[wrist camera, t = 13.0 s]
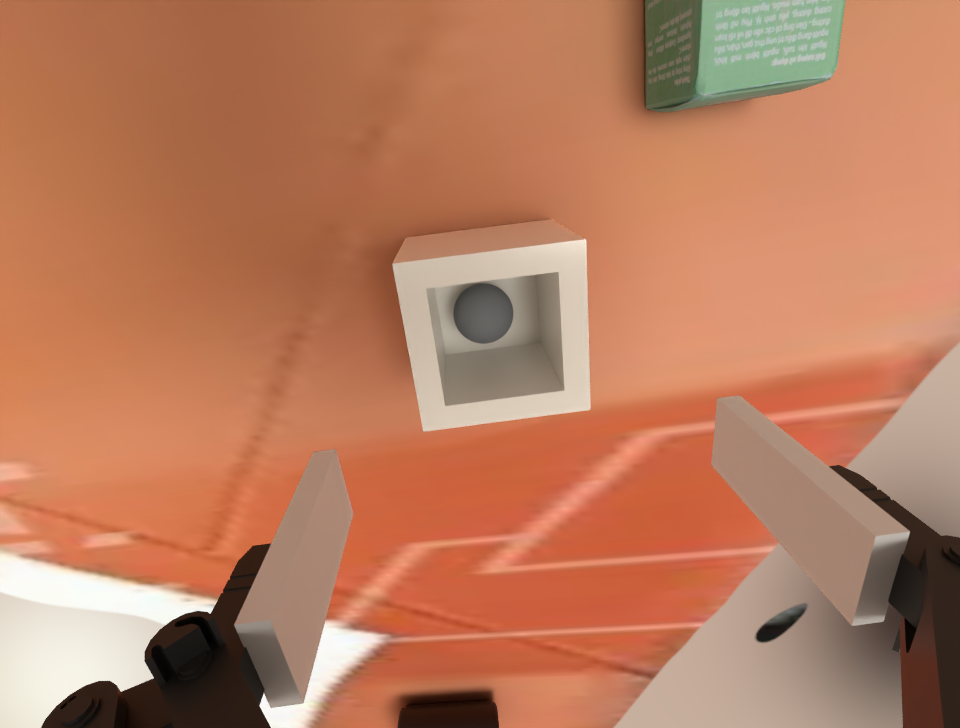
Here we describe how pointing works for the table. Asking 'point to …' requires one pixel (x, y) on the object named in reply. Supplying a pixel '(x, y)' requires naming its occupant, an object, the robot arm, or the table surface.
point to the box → (737, 49)
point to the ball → (483, 313)
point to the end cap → (450, 715)
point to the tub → (527, 344)
